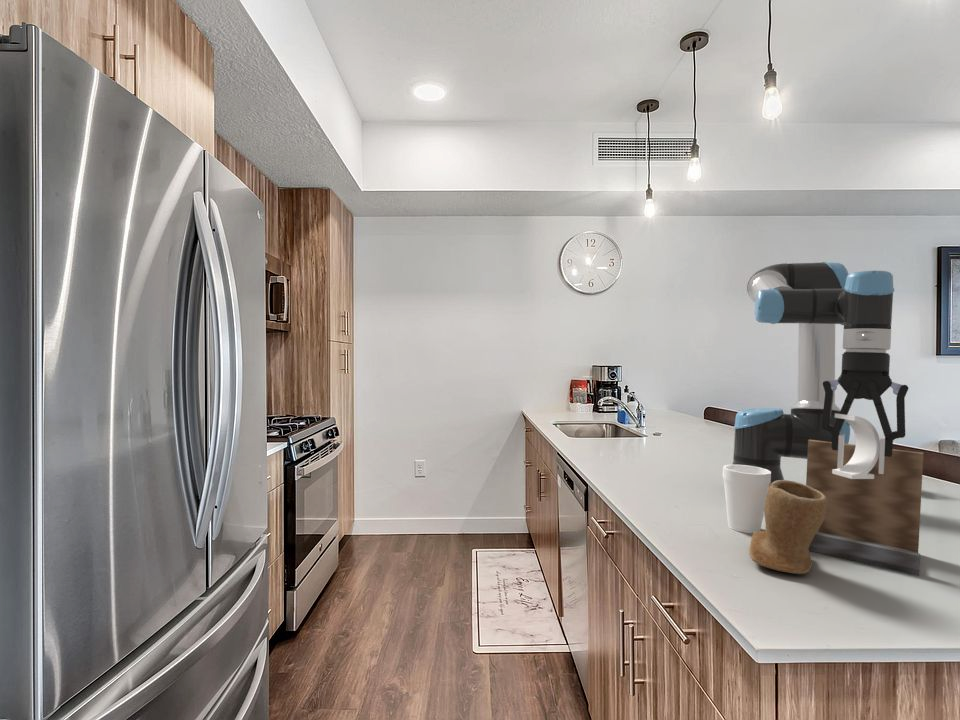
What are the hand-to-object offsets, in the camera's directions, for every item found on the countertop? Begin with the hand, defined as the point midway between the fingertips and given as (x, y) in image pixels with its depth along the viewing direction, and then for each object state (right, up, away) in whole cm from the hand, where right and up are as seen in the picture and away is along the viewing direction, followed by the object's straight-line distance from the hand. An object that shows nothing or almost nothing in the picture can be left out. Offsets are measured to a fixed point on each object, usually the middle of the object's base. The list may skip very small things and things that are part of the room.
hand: (860, 469), depth 103 cm
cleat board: (0, -16, +1) cm, 16 cm away
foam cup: (-16, -16, +13) cm, 26 cm away
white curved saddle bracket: (-1, -1, 0) cm, 2 cm away
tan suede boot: (-18, -16, -6) cm, 25 cm away
